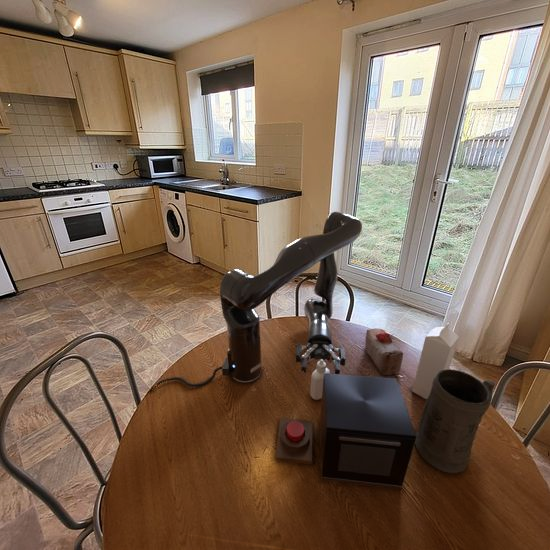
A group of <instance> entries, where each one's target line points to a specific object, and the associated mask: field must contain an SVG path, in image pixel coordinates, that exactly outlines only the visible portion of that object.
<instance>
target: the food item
mask: <svg viewBox="0 0 550 550" xmlns="http://www.w3.org/2000/svg"><path fill="white" fill-rule="evenodd" d="M394 340H395V338H394V337H393V334H391V333H388V332H387V331H386V330H385V329H382V328H370V329H367V330H366V332H365V340H364V343H365V345H364V350H365V352H366V354H367V355H368V356H369V358H370V359H371V360H372V362H373V363H374V365H375V366H376V368H377V369H378V370H379V372H380V373H381V374H382V375H381V376H389V375H396V374H400V371H401V368H402V363H403V357H404V352H403V351H402V349H400V347H399V346H398V345H397V343H395V341H394Z"/></svg>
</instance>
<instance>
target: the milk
mask: <svg viewBox="0 0 550 550" xmlns="http://www.w3.org/2000/svg"><path fill="white" fill-rule="evenodd" d="M459 340H460V336H459V335H457V334H456V332H454V330H452V328H451V327H450V321H448V322H447V324H446V325H444V326H434V327H433V328H432V330H430V331H429V333H427V335H425V337H424V341H423V345H422V349H421V353H420V358H419V361H418V364H417V369H416V373H415V377H414V381H413V386H412V388H411V392H412V393H414V394H415V395H418V396H420V397H421V398H423V399H425V401H426V400H427V397H428V396H429V395H430V392H431V388H432V383H433V379H434V378H435V377H436V375H437V374H438V372H440V371H442V370H447V369H448V370H450V368H451V365H452V362H453V358H454V355H455V352H456V350H457V349H456V348H457V345H458V342H459Z"/></svg>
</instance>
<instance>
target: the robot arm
mask: <svg viewBox="0 0 550 550" xmlns="http://www.w3.org/2000/svg"><path fill="white" fill-rule="evenodd" d="M362 231H363V223H362V222H361V220H360V219H359V218H357V217H356V216H353V215H351V214H346V213H343V212H339V211H333V212H331V213H329V215H328V216H326V219H325V222H324V224H323V229H322V233H320V234H314V235H313V234H312V235H307V236H302V237H300V238H298V239H296V240H294V241H292V242H290V243H288V244H287V245H285V246H284V247H283V248H282V249H281V250H280V252H279V253H278V255H277V256H276V259H275V262H273V264H272V266H270V267H269V268H267V269H266V270H264V271H262V272H261V273H258V274H256V275H252V274H250V273H248V272H247V271H245V270H242V269H239V268H235V269H231V270H229V271H227V272H226V273H225V274H224V275H223V277H222V278H221V281H220V284H219V297H220V304H221V305H220V306H221V312H222V316H223V319H224V321H225V323H226V332H227V342H228V349H227V352H226V354H227V357H225V360H224V362H223V365H222V366H219V367H217V368H215V369H214V371H213V373H212V375H211V376H210V377H209V378H208V379H206V380H205V381H202V382H199V383H190V382H189V381H187V380H185V379H184V378H183V377H180V376H174V377H168V378H164V379H162V380H159V381H158V382H156V383H155V384H157V383H158V384H157V386H155V387H154V388H153V390H155V388H157V387H158V386H159V385H161V384H163V383H165V382H169V381H175V380H176V381H177V380H178V381H181V382H182V383H184V384H185V385H186V386H188V387H192V388H193V387H195V388H196V387H200V386H204V385H206V384H208V383H209V382H211V381H212V380H214V378H215V377H216V374H217V372H218V371H220V370H221V373H222V376H223V377H229V379H233V381H235V382H237V383H240V384H250V383H254V382H256V381H257V380H258V379H259V378H260V377H261V376H262V374H263V368H262V367H263V366H262V349H261V348H262V346H261V344H262V343H261V320H260V315H259V313H258V311H257V310H256V308H258V307H259V306H260V305H262V304H263V303H264V302H266V301H267V300H268V299H269V298H270V297H271V296H273V295H274V294H275V293H276V292H277V291H279V290H280V289H281V288H282V287H284V286H285V285H286V284H288V283H289V282H291V281H292V280H293V279H295V278H296V277H298V276H300V275H301V274H302V273H305V272H307V270H309V269H311V268H312V267H314V266H315V265H316V264H318V263H319V267H318V272H317V276H316V279H315V282H314V283H315V284H314V288H313V292H314V294H315V295H317V296H318V297H320V298H322V299H323V300H320V299H316V298H308V299H307V300H306V301H305V302H304V306H303V311H304V315H305V318H306V320H307V322H308V328H307V334H306V335H307V344H306V345H302V343H301V342H298V343H297V344H296V350H295V362H296V363H300V364H301V365H300V366H301V367H300V369H301V370H300V371H301V372H303V374H307V363H308V362H309V363H311V361H312V360H318V361H319V360H321V359H323V361H327V362H328V363H329V364H332V365H333V369H334V374H341V366H342V367H345V366H346V360H347V357H346V353H345V349H344V346H343V345H339V346H338V347H334V346H333V341H332V330H331V328H330V327H331V326H330V319H331V318H332V316H333V311H334V310H333V309H334V308H333V298H334V292H335V289H336V284H337V281H338V276H339V275H338V274H339V273H338V267H337V265H338V264H337V260H336V254H335V252H337V251H339V250H342V249H343V248H346V247H348V246H349V245H351V244H353V243H354V242H355V241H356V240H357V239H358V238H359V237H360V235H361V233H362ZM304 351H306V352H305V353H304ZM303 353H304V354H303ZM302 354H303V355H302ZM170 378H171V379H170ZM166 380H167V381H166ZM164 381H165V382H164ZM162 382H163V383H162ZM160 383H161V384H160ZM150 389H151V388H150ZM150 389H149V390H150ZM151 390H152V389H151ZM151 390H150V391H149V392H152V391H153V390H152V391H151Z"/></svg>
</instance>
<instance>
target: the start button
mask: <svg viewBox="0 0 550 550" xmlns="http://www.w3.org/2000/svg"><path fill="white" fill-rule="evenodd" d="M303 436H304V427H303V425H302V424H301V423H299V422H297V421H293V422H290V423H289V424H288V425H287V437H288V439H289V440H291V441H293V442H298V441H300V440H302V438H303Z"/></svg>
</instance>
